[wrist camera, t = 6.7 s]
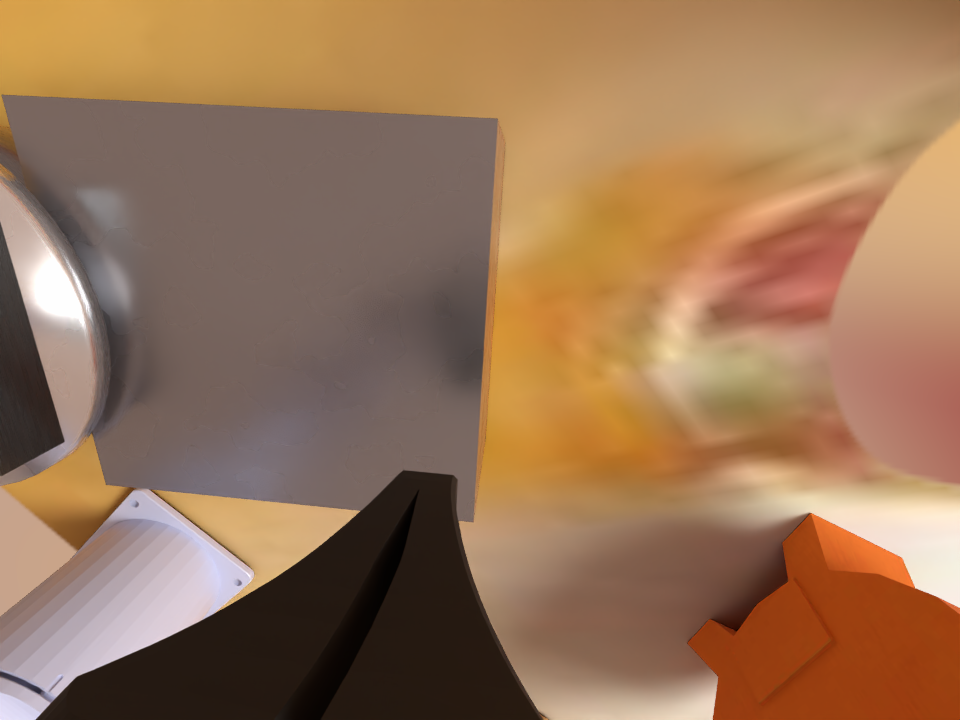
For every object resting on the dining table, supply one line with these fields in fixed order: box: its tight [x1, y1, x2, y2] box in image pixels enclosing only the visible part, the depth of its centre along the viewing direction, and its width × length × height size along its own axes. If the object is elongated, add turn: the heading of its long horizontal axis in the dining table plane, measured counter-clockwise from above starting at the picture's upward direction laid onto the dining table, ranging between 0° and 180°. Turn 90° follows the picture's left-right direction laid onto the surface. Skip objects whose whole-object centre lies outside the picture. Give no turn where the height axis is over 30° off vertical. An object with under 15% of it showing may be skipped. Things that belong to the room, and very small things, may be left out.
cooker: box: [0, 95, 505, 522], centre depth 17 cm, size 27×13×8 cm, turn 87°
